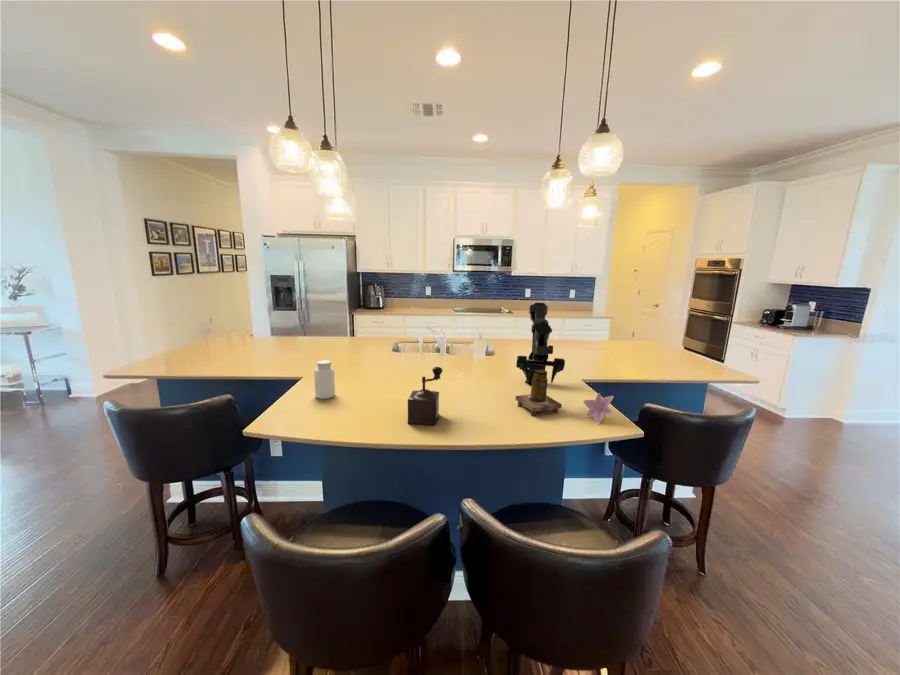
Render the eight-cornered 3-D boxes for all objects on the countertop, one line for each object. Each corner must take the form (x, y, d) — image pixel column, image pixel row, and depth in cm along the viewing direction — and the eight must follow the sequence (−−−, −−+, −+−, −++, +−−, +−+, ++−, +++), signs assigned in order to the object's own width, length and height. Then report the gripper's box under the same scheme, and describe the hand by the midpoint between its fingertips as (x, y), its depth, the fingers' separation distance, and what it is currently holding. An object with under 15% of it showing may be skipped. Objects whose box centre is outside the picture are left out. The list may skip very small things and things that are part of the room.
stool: (541, 401, 157) (542, 392, 156) (560, 413, 145) (561, 404, 144) (514, 405, 153) (515, 396, 152) (532, 417, 141) (532, 407, 140)
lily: (581, 413, 149) (576, 396, 145) (609, 403, 148) (606, 386, 143) (593, 434, 139) (589, 417, 134) (624, 424, 138) (621, 406, 133)
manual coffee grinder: (437, 426, 131) (438, 378, 128) (406, 424, 132) (407, 376, 129) (442, 409, 147) (443, 365, 143) (414, 407, 147) (415, 364, 144)
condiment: (545, 396, 152) (547, 368, 150) (549, 404, 144) (552, 374, 142) (527, 395, 152) (529, 367, 150) (530, 403, 144) (533, 374, 142)
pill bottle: (339, 394, 159) (338, 360, 156) (325, 400, 152) (324, 365, 149) (325, 391, 162) (323, 358, 159) (311, 397, 155) (309, 362, 152)
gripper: (518, 336, 148) (516, 370, 140) (566, 339, 145) (567, 374, 137) (517, 350, 158) (515, 383, 149) (562, 353, 154) (563, 387, 146)
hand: (539, 381), depth 145 cm, fingers open, 9 cm apart
